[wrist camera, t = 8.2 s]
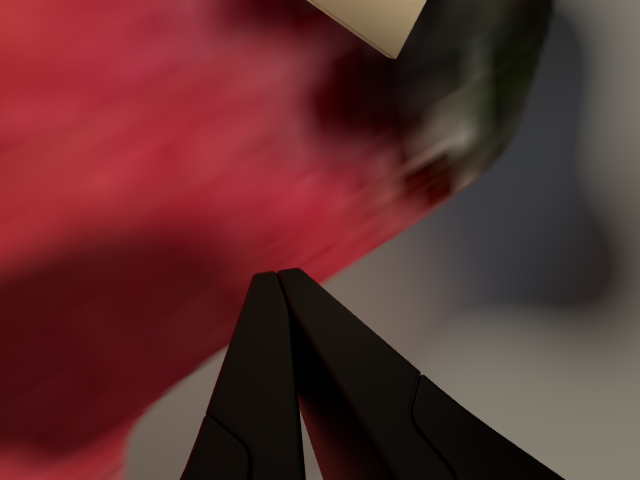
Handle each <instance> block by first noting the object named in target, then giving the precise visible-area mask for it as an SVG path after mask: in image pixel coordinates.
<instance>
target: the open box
mask: <svg viewBox="0 0 640 480" xmlns="http://www.w3.org/2000/svg"><path fill="white" fill-rule="evenodd" d="M307 1H309V2H310V3H311V4H313V5H314V6H316V7H317V8H319V9H320V10H321V11H323V12H324V13H326V14H327V15H328V16H330V17H331V18H333V19H334V20H336V21H337V22H338V23H340V24H341V25H343V26H344V27H346V28H347V29H348V30H350V31H351V32H353V33H354V34H355V35H357V36H358V37H360V38H361V39H363V40H364V41H365V42H367V43H368V44H370V45H371V46H372V47H374V48H375V49H377V50H378V51H380V52H381V53H382V54H384V55H385V56H387V57H389V58H393V59H396V58H397V56H398V54H399V52H400V50H401V49H402V47H403V45H404V43H405V41H406V39H407V37H408V35H409V33H410V31H411V29H412V27H413V25H414V24H415V22H416V20H417V18H418V16H419V14H420V12H421V10H422V8H423V6H424V4H425V2H426V0H307Z"/></svg>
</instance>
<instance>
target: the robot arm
mask: <svg viewBox="0 0 640 480" xmlns="http://www.w3.org/2000/svg"><path fill="white" fill-rule="evenodd" d="M300 411H301V414H302V417H303V420H304V423H305V425H306V428H307V432H308V435H309V438H310V441H311V444H312V447H313V450H314V453H315V456H316V459H317V462H318V465H319V468H320V471H321V474H322V477H323V480H565V479H564V478H562V477H561V476H559V475H558V474H557V473H555V472H554V471H552V470H551V469H549V468H548V467H546V466H545V465H543V464H542V463H541V462H539V461H538V460H536V459H535V458H534V457H532V456H531V455H529V454H528V453H526V452H525V451H523V450H522V449H521V448H519V447H517V446H516V445H515V444H513V443H512V442H511V441H509V440H508V439H506V438H505V437H503V436H502V435H501V434H499V433H498V432H496V431H495V430H493V429H492V428H491V427H489V426H488V425H487V424H485V423H484V422H483V421H481V420H480V419H478V418H477V417H476V416H474V415H473V414H472V413H470V412H469V411H468V410H466V409H465V408H464V407H462V406H461V405H460V404H459V403H457V402H456V401H455V400H454V399H452V398H451V397H450V396H449V395H448V394H446V393H445V392H444V391H443V390H441V389H440V388H439V387H438V386H437V385H435V384H434V383H433V382H432V381H431V380H430V379H428V378H427V377H426V376H425V375H421V372H420V371H419V370H418V369H417V368H415V367H414V366H413V365H412V364H411V363H410V362H408V361H407V360H406V359H405V358H404V357H403V356H401V355H400V354H399V353H398V352H397V351H396V350H394V349H393V348H392V347H391V346H390V345H389V344H387V343H386V342H385V341H384V340H383V339H382V338H380V337H379V336H378V335H377V334H376V333H375V332H373V331H372V330H371V329H370V328H369V327H368V326H366V325H365V324H364V323H363V322H362V321H361V320H359V319H358V318H357V317H356V316H355V315H353V314H352V313H351V312H350V311H349V310H348V309H347V308H346V307H344V306H343V305H342V304H341V303H340V302H339V301H337V300H336V299H335V298H334V297H333V296H332V295H330V294H329V293H328V292H327V291H326V290H325V289H323V288H322V287H321V286H320V285H319V284H318V283H317V282H315V281H314V280H313V279H312V278H311V277H310V276H308V275H307V274H306V273H305V272H304V271H303V270H301V269H299V268H291V269H284V270H279V271H278V273H276V272H274V271H270V272H262V273H256V274H254V275H253V277H252V280H251V283H250V286H249V289H248V292H247V294H246V297H245V300H244V303H243V306H242V309H241V312H240V315H239V318H238V321H237V323H236V326H235V329H234V332H233V335H232V338H231V341H230V344H229V347H228V350H227V353H226V355H225V359H224V361H223V364H222V367H221V370H220V373H219V376H218V379H217V382H216V385H215V387H214V390H213V393H212V396H211V399H210V402H209V405H208V408H207V411H206V416H205V417H204V419H203V421H202V424H201V427H200V430H199V433H198V436H197V439H196V441H195V444H194V446H193V449H192V451H191V454H190V457H189V459H188V462H187V464H186V467H185V469H184V472H183V473H182V476H181V478H180V480H306V475H305V464H304V453H303V442H302V431H301V420H300Z"/></svg>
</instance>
